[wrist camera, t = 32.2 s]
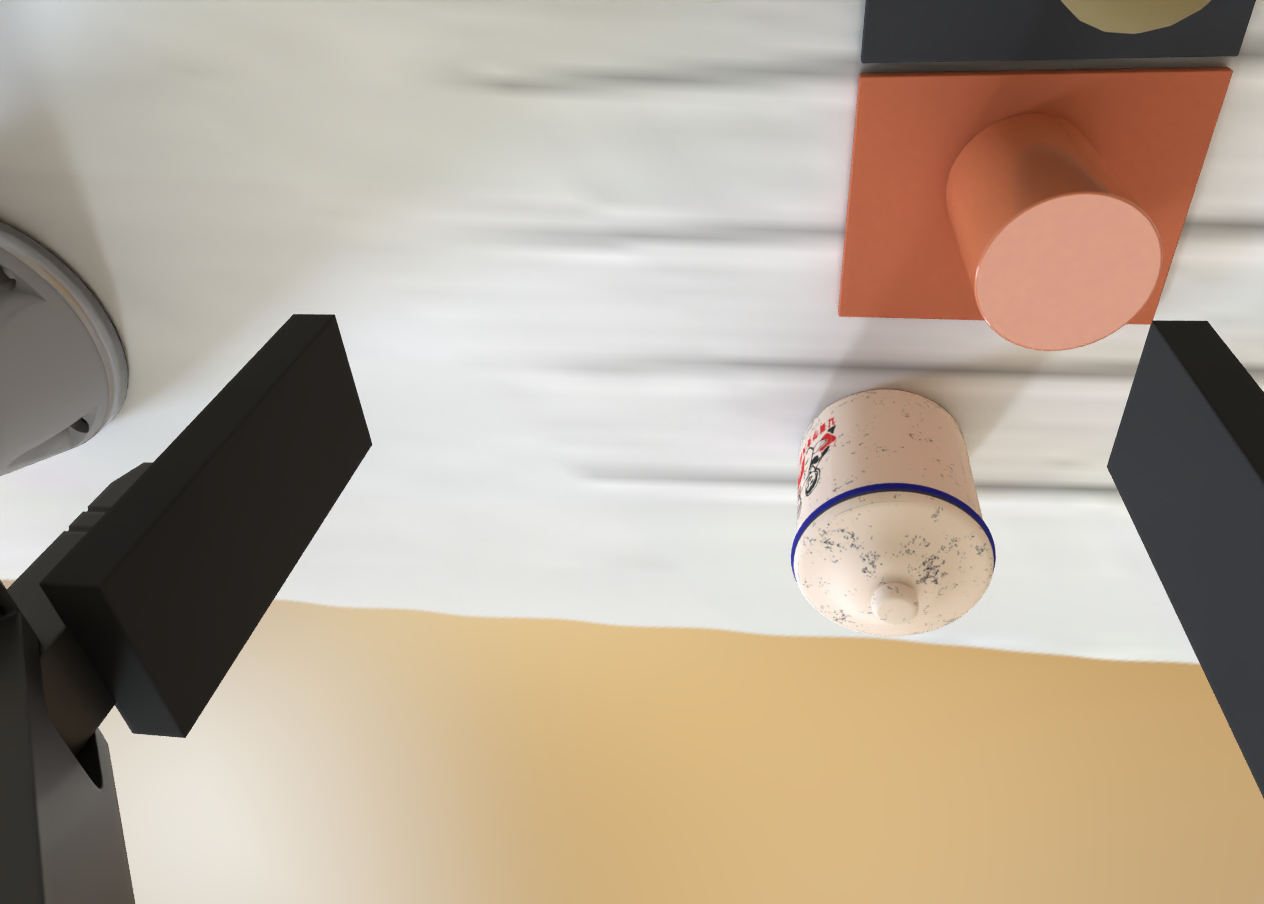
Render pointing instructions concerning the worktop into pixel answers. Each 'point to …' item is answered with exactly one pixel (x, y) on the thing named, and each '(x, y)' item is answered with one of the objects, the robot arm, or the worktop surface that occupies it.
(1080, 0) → the olive rounded bottle shape
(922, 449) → the teacup with lid
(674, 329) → the worktop surface
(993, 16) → the charcoal mat
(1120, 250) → the copper-orange cylinder
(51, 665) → the robot arm
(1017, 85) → the terracotta mat
